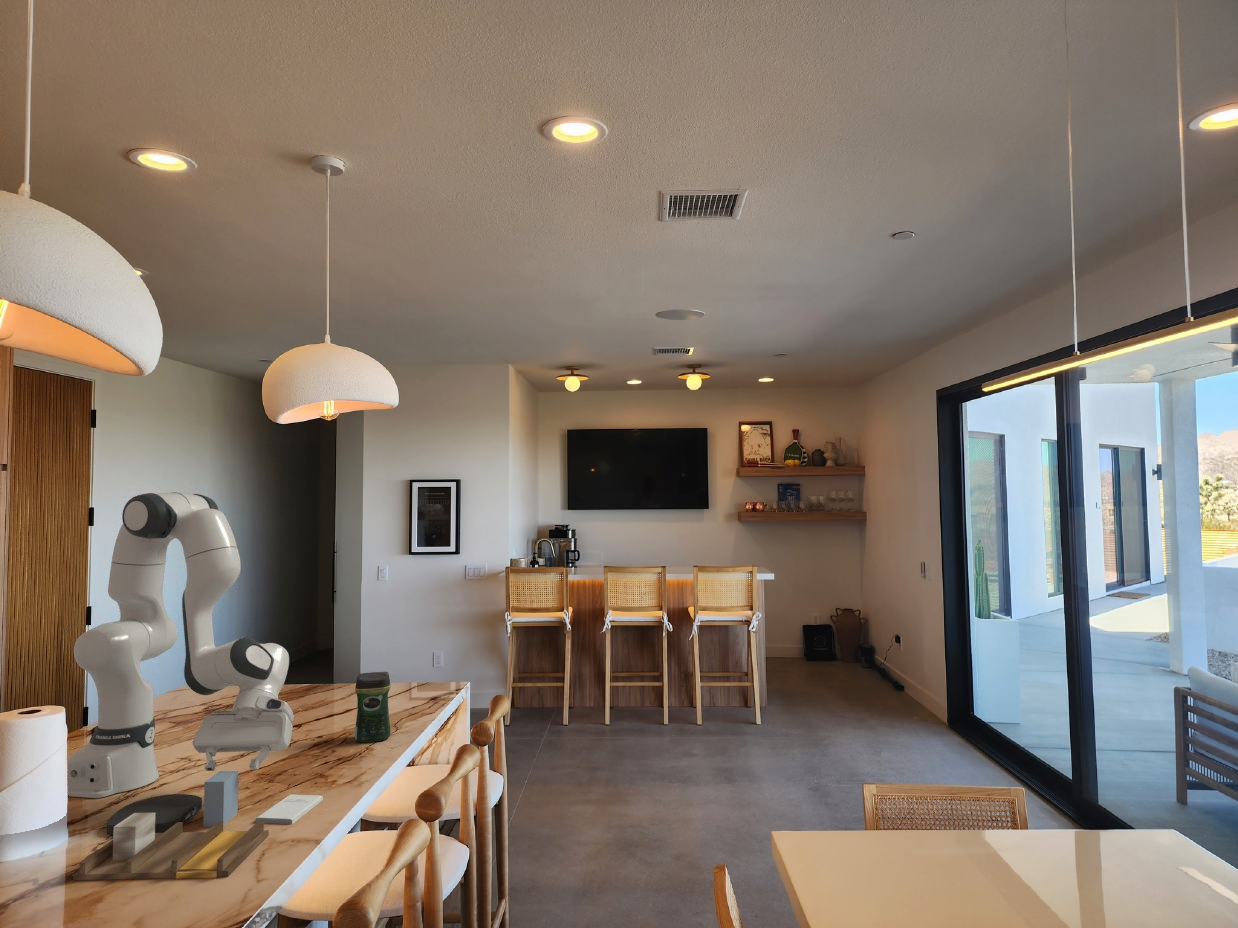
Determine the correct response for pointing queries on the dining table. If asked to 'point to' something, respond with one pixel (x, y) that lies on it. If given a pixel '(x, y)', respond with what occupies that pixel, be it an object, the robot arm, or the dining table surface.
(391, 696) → the dining table surface
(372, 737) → the coffee jar
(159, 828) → the media streaming box
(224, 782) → the grey rectangular block
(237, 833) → the rack
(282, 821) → the external hard drive
